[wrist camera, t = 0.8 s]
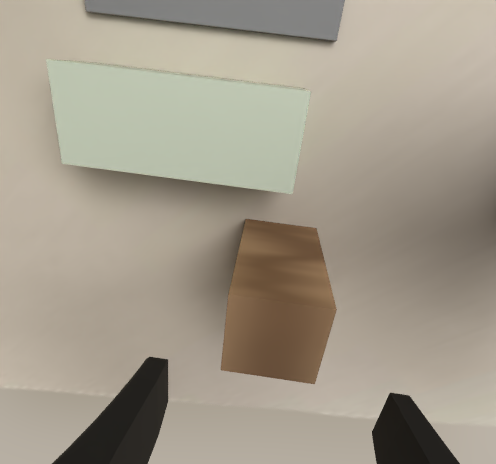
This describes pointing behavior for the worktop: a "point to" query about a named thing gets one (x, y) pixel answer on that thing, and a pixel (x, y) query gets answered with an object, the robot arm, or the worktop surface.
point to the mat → (236, 14)
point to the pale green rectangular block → (178, 124)
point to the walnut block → (278, 304)
